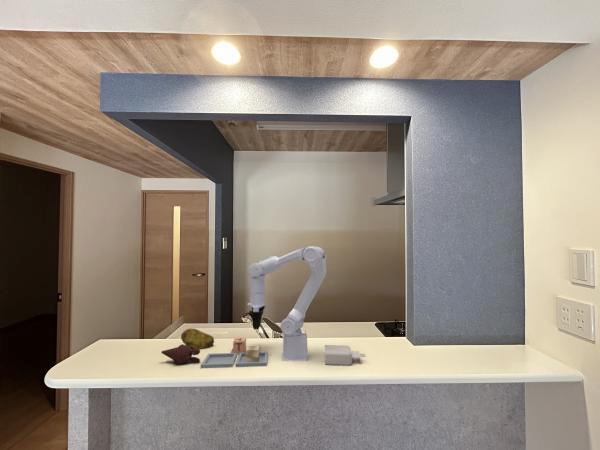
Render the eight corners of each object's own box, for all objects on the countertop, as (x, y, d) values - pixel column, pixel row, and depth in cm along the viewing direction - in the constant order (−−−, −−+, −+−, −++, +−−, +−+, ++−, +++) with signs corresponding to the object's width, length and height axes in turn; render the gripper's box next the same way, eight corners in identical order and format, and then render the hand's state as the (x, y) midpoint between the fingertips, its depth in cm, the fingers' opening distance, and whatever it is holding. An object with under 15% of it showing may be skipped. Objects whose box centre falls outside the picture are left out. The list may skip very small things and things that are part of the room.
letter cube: (245, 348, 118) (246, 337, 118) (244, 352, 114) (244, 340, 114) (234, 349, 118) (235, 337, 118) (233, 353, 113) (233, 341, 114)
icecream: (155, 349, 102) (195, 354, 100) (166, 337, 109) (204, 342, 107) (155, 366, 103) (195, 371, 101) (167, 354, 110) (204, 358, 109)
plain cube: (259, 358, 109) (259, 345, 109) (258, 362, 104) (258, 349, 104) (247, 358, 108) (247, 346, 109) (245, 363, 104) (245, 350, 104)
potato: (207, 352, 116) (207, 332, 117) (177, 350, 118) (178, 331, 119) (215, 345, 125) (216, 326, 125) (188, 344, 126) (188, 325, 127)
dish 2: (268, 355, 112) (268, 351, 112) (266, 367, 101) (266, 362, 101) (239, 356, 111) (239, 352, 111) (235, 368, 100) (235, 363, 100)
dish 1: (237, 356, 111) (237, 352, 111) (232, 368, 100) (232, 363, 100) (208, 357, 110) (208, 353, 110) (200, 369, 99) (200, 364, 99)
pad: (249, 349, 119) (249, 347, 119) (247, 355, 112) (247, 353, 112) (232, 349, 119) (232, 348, 119) (229, 356, 112) (229, 354, 112)
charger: (367, 367, 101) (324, 365, 103) (363, 357, 110) (324, 356, 112) (366, 353, 102) (324, 352, 103) (363, 344, 111) (324, 343, 112)
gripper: (249, 290, 124) (249, 322, 123) (245, 295, 110) (245, 331, 109) (265, 289, 125) (265, 321, 123) (264, 295, 110) (263, 331, 109)
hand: (257, 326), depth 116 cm, fingers open, 7 cm apart
